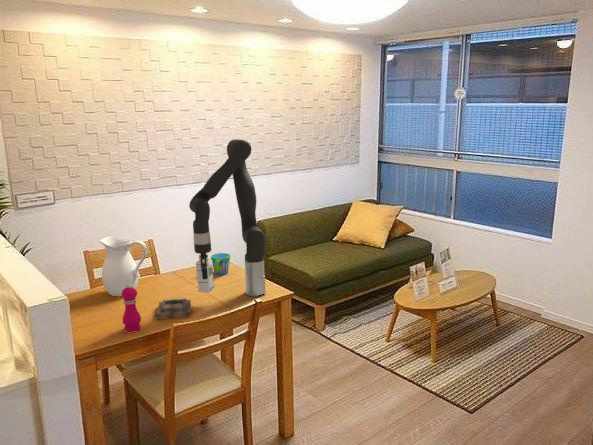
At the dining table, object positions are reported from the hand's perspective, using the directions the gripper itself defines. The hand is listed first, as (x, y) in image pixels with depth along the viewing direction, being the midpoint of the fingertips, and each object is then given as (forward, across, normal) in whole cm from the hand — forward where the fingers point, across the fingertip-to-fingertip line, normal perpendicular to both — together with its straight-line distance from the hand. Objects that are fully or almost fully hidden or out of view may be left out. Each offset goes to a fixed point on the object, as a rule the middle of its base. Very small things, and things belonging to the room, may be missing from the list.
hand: (205, 276), depth 225 cm
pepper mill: (+13, -21, +31) cm, 39 cm away
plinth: (+14, -6, +15) cm, 21 cm away
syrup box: (+7, 0, 0) cm, 7 cm away
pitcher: (+13, +22, +38) cm, 46 cm away
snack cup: (+14, +43, -8) cm, 46 cm away
